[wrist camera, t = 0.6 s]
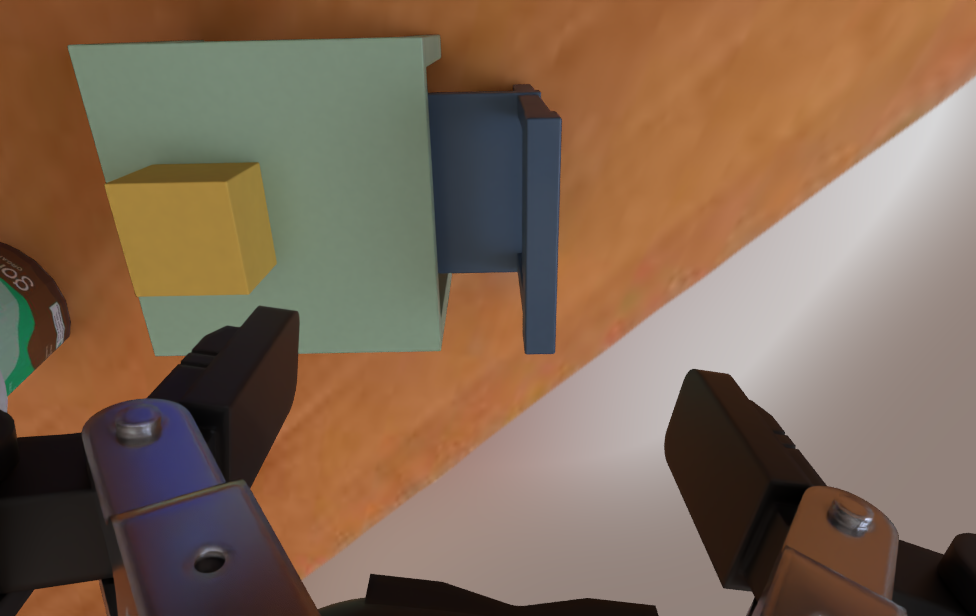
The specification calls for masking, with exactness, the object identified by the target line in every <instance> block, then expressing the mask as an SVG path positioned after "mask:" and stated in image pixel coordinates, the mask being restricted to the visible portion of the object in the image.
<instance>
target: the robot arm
mask: <svg viewBox="0 0 976 616" xmlns="http://www.w3.org/2000/svg"><path fill="white" fill-rule="evenodd" d="M299 329H300V317H299V313H298V311H295V310H288V309H281V308H274V307H267V306H260V305H259V306H258V307H257V308H256V309H255V310H254V311H253V312H252V314H251V315H250V316H249V317H248V318H247V320H246V321H245V322H244V323H243V324H242V326H241V327H235V326H228V325H227V326H225V327H222V328H220V329H218V330H216V331H214V332H212V333H210V334H208V335H205V336H204V337H203V338H202V339H201V340H200V341H199V343H198V344H197V345H196V346H195V347H194V348H193V349H192V352H191V353H188V354H187V355H186V356H185V358H184V359H183V360H182V361H181V364H178V365H177V366H176V367H175V368H174V369H173V370H172V372H171V373H170V374H169V375H168V376H167V377H166V378H165V379H164V380H163V381H162V382H161V383H160V384H159V386H158V387H157V388H156V389H155V390H154V391H153V392H152V393H151V394H150V395H149V396H148V397H147V398H146V399H136V400H129V401H125V402H121V403H118V404H115V405H112V406H109V407H107V408H105V409H103V410H101V411H99V412H97V413H96V414H95V415H93V416H92V417H91V418H90V419H89V420H88V421H87V422H86V423H85V425H84V427H83V429H82V432H81V433H74V434H63V435H48V436H34V437H19V438H17V435H16V429H15V424H14V420H13V418H12V417H11V416H10V415H9V414H8V413H6V412H4V411H2V410H0V616H15V615H16V614H17V613H18V611H19V610H20V609H21V607H22V606H23V604H24V603H25V602H26V600H27V599H28V598H29V596H30V595H31V593H32V592H33V590H34V589H40V588H47V587H53V586H60V585H67V584H74V583H80V582H87V581H94V580H99V585H100V589H101V593H102V597H103V601H104V605H105V609H106V614H107V616H658V613H657V609H656V606H654V605H645V604H636V603H627V602H617V601H609V600H600V599H591V598H585V599H576V600H568V601H560V602H552V603H544V604H537V605H528V606H514V605H510V604H507V603H503V602H501V601H498V600H495V599H491V598H489V597H486V596H483V595H480V594H477V593H474V592H471V591H468V590H465V589H462V588H459V587H456V586H453V585H450V584H447V583H444V582H439V581H429V580H421V579H412V578H403V577H394V576H385V575H375V574H370V578H369V584H368V588H367V594H366V598H360V599H352V600H348V601H344V602H339V603H335V604H331V605H329V606H326V607H323V608H320V609H317V608H316V606H315V604H314V602H313V600H312V599H311V597H310V595H309V593H308V592H307V590H306V588H305V586H304V584H303V583H302V581H301V579H300V577H299V575H298V574H297V572H296V570H295V568H294V566H293V565H292V563H291V561H290V559H289V558H288V556H287V554H286V552H285V550H284V549H283V547H282V545H281V543H280V541H279V540H278V538H277V536H276V534H275V533H274V531H273V529H272V527H271V525H270V524H269V522H268V520H267V518H266V516H265V515H264V513H263V511H262V509H261V507H260V506H259V504H258V502H257V500H256V499H255V497H254V495H253V493H252V491H251V490H250V488H251V486H252V484H253V482H254V480H255V478H256V476H257V474H258V472H259V470H260V468H261V466H262V464H263V462H264V460H265V458H266V456H267V454H268V453H269V451H270V449H271V447H272V445H273V443H274V441H275V439H276V437H277V435H278V433H279V431H280V429H281V427H282V425H283V423H284V421H285V419H286V417H287V415H288V413H289V411H290V409H291V406H292V403H293V400H294V396H295V391H296V384H297V369H298V349H299ZM664 450H665V457H666V461H667V463H668V466H669V468H670V470H671V472H672V475H673V477H674V479H675V481H676V483H677V485H678V488H679V490H680V493H681V495H682V497H683V499H684V501H685V504H686V506H687V508H688V510H689V512H690V515H691V517H692V519H693V522H694V524H695V526H696V528H697V531H698V533H699V535H700V537H701V539H702V542H703V544H704V546H705V548H706V551H707V553H708V555H709V557H710V560H711V562H712V564H713V566H714V569H715V571H716V573H717V575H718V577H719V580H720V582H721V584H722V586H723V588H726V589H735V590H743V591H752V592H753V594H754V596H755V598H754V600H753V602H752V604H751V606H750V608H749V610H748V613H747V615H746V616H976V534H972V533H963V534H959V535H957V536H956V537H955V538H954V539H953V541H952V543H951V544H950V546H949V547H948V549H947V551H946V552H945V554H944V555H943V554H940V553H937V552H934V551H931V550H928V549H925V548H922V547H919V546H916V545H914V544H911V543H907V542H905V541H902V540H899V535H898V532H897V530H896V528H895V526H894V524H893V523H892V522H891V521H890V520H889V518H888V517H887V516H886V515H884V514H883V513H882V512H881V511H880V510H878V509H877V508H876V507H875V506H873V505H872V504H870V503H869V502H867V501H865V500H864V499H862V498H860V497H858V496H856V495H854V494H852V493H849V492H847V491H844V490H841V489H838V488H834V487H828V486H827V485H826V484H825V483H824V482H823V480H822V479H821V478H820V476H819V475H818V474H817V473H816V471H815V470H814V469H813V467H812V466H811V465H810V464H809V462H808V461H807V460H806V459H805V457H804V456H803V455H802V453H801V452H800V451H799V450H798V449H795V445H794V443H793V442H792V441H791V439H790V438H789V437H788V436H787V435H785V432H784V430H783V429H782V428H781V427H780V425H779V424H778V423H777V421H776V420H775V419H774V418H773V416H771V415H770V414H769V413H768V412H766V411H765V410H764V409H762V408H761V407H760V406H758V405H757V404H755V403H754V402H753V401H751V400H749V399H748V398H747V396H746V395H745V394H744V392H743V391H742V390H741V388H740V387H739V386H738V384H737V383H736V382H735V380H734V379H733V378H732V377H731V375H729V374H725V373H718V372H711V371H704V370H698V369H692V370H690V371H689V372H688V374H687V375H686V377H685V379H684V381H683V384H682V387H681V390H680V393H679V396H678V399H677V402H676V405H675V407H674V410H673V413H672V416H671V419H670V422H669V425H668V428H667V431H666V435H665V443H664Z"/></svg>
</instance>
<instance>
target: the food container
mask: <svg viewBox="0 0 976 616" xmlns="http://www.w3.org/2000/svg"><path fill="white" fill-rule="evenodd" d="M70 324H71V321H70V317H69V313H68V309H67V304H66V301H65V299H64V297H63V295H62V294H61V292H60V290H59V288H58V287H57V285H56V283H55V282H54V280H53V279H52V278H51V277H50V276H49V275H48V274H47V273H46V272H45V271H44V270H43V269H42V268H41V267H40V266H39V265H38V263H37V262H36V261H34V260H33V259H31V258H30V257H28V256H27V255H25V254H23V253H22V252H20V251H19V250H17V249H15V248H13V247H11V246H8V245H6V244H4V243H0V410H2V411H4V412H6V413H7V403H8V399H7V396H8V395H9V394H10V393H12V392H13V391H14V390H15V389H16V388H17V387H18V386H19V385H20V384H21V383H22V382H23V381H24V380H25V379H26V378H27V377H28V376H29V375H30V374H31V373H32V372H33V371H34V370H35V369H36V368H37V367H38V366H39V365H41V364H42V363H43V362H44V361H45V360H46V359H47V358H48V357H49V356H50V355H51V354H52V353H53V352H54V351H55V350H56V349H57V348H58V347H59V346H60V345H61V344H62V343H63V342H64V341H65V340H66V339H67V338H68V337H69V335H70Z"/></svg>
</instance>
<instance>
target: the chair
mask: <svg viewBox="0 0 976 616" xmlns="http://www.w3.org/2000/svg"><path fill="white" fill-rule="evenodd" d="M428 109H429V126H430V143H431V160H432V177H433V194H434V211H435V228H436V245H437V262H438V273H489V272H518V278H519V286H520V294H521V302H522V310H523V341H524V350H525V354H554V353H555V339H556V304H557V270H558V235H559V201H560V166H561V131H562V119H561V117H560V116H559V115H558V114H557V112H555V111H550V110H549V109H548V107H547V106H546V105H545V103H544V102H543V101H542V99H541V92H540V91H539V90H534V89H533V87H532V86H531V85H530V84H518V85H513V91H477V92H431V93H428Z"/></svg>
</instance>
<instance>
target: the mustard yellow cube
mask: <svg viewBox="0 0 976 616" xmlns="http://www.w3.org/2000/svg"><path fill="white" fill-rule="evenodd" d="M104 186H105V190H106V193H107V197H108V200H109V204H110V207H111V211H112V214H113V218H114V221H115V225H116V228H117V232H118V235H119V239H120V242H121V246H122V249H123V253H124V256H125V260H126V263H127V267H128V270H129V274H130V277H131V281H132V284H133V288H134V291H135V295H136V297H151V296H204V295H249V294H250V293H251V292H252V291H253V290H254V289H255V287H256V286H257V285H258V284H259V283H260V282H261V281H262V280H263V279H264V277H265V276H266V275H267V274H268V273H269V272H270V271H271V270H272V269H273V267H274V266H275V265H276V264H277V261H276V255H275V249H274V244H273V238H272V232H271V227H270V221H269V215H268V210H267V204H266V198H265V193H264V187H263V181H262V176H261V170H260V164H259V163H258V162H248V163H200V164H152V165H150V166H148V167H145V168H143V169H140V170H138V171H135V172H133V173H130V174H128V175H125V176H123V177H120V178H118V179H115V180H113V181H110V182H108V183H105V184H104Z"/></svg>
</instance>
